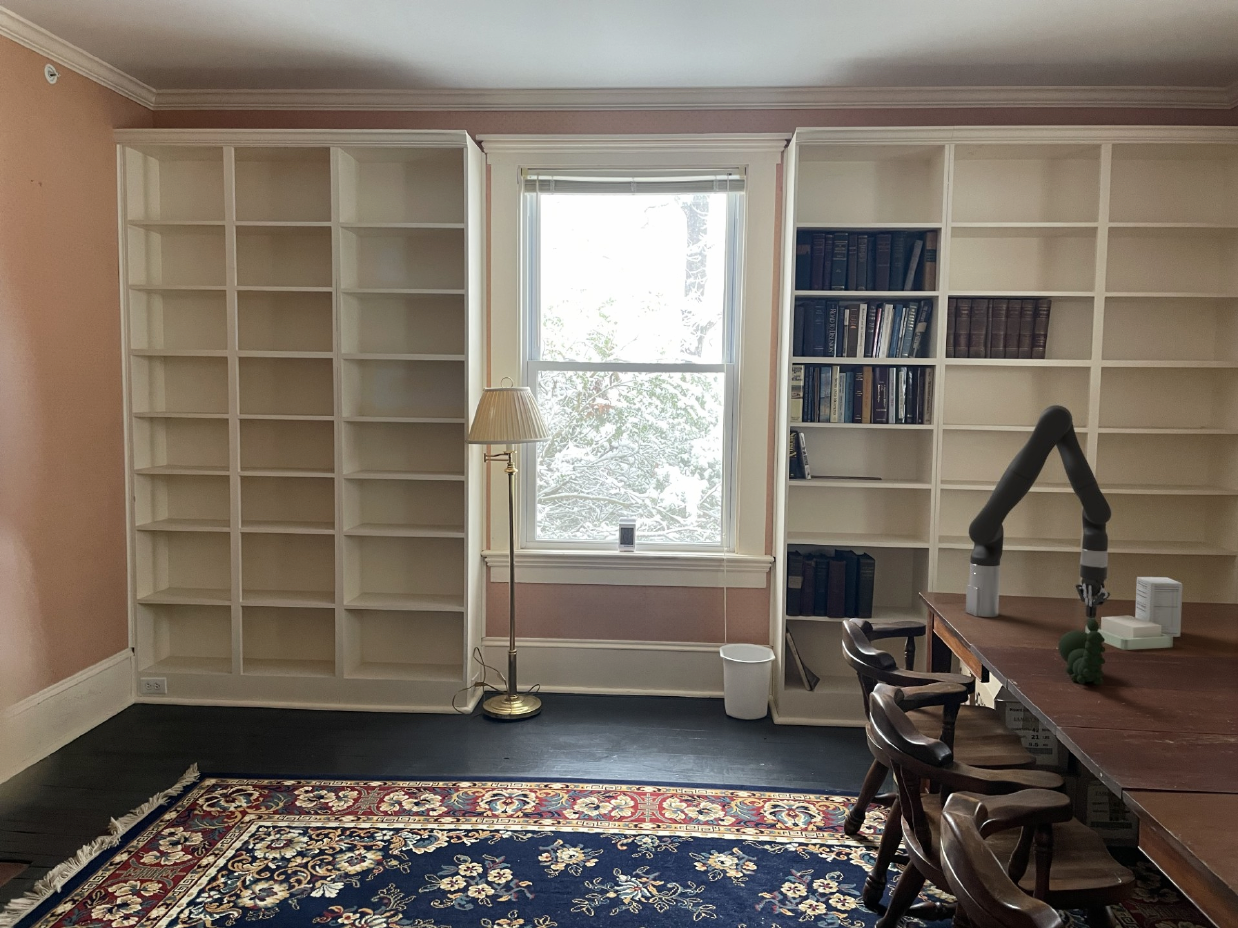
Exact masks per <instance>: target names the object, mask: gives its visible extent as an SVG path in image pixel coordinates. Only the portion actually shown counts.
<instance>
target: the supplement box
mask: <svg viewBox="0 0 1238 928" xmlns="http://www.w3.org/2000/svg"><path fill="white" fill-rule="evenodd" d="M1135 591H1136V592H1135V593H1136V594H1135V613H1134V614H1135V616H1134V617H1135V618H1139V619H1142V620H1145V621H1148V622H1152V623H1155V624H1158V625H1161V633H1162V634H1165V635H1168V636H1171V637H1173V638H1178V637H1181V630H1182V629H1181V627H1182V626H1181V625H1182V607H1183V606H1182V601H1183V583H1182V582H1180V581H1177V580H1174V579H1172V578H1170V577H1166V576H1163V577H1162V576H1161V577H1160V576H1156V577H1155V576H1137V577H1136V590H1135Z"/></svg>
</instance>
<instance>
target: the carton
mask: <svg viewBox="0 0 1238 928" xmlns="http://www.w3.org/2000/svg"><path fill="white" fill-rule="evenodd" d="M1100 622H1101V623H1100V630H1103V631H1106V632H1108V633H1111V634H1114V635H1117V636H1119V637H1122V638H1142V637H1160V636H1161V625H1158V624H1155V623H1152V622H1148V621H1145V620H1142V619H1139V618H1135V616H1132V615H1128V614H1127V615H1116V616H1101V620H1100Z"/></svg>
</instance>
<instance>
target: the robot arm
mask: <svg viewBox="0 0 1238 928" xmlns="http://www.w3.org/2000/svg"><path fill="white" fill-rule="evenodd" d="M1055 446H1056V449H1057V450H1058V453H1059V455H1060V459H1061V461H1062V465H1063V467H1064V471H1065V474H1066V477H1067V478H1068V482H1069V483H1070V485H1071V488H1072V490H1073V493H1074V494H1075V495H1076V496H1077V498H1078V499H1079V500H1080V503H1081V505H1082V513H1081V522H1082V533H1083V534H1082V542H1081V553H1080V568H1079V577H1080V578H1081V581H1080V583H1079V584H1075V589H1076V591H1077V593H1078V597H1079V598H1080V600H1081V602H1083V603H1084V604H1085V614H1086V616H1085V617H1087V618H1093V619H1095V618H1096V617H1097V608H1098V607H1101V606H1103V605H1104V603H1105V602H1106V601H1107V600H1108V599H1109V597H1110V595H1111V594H1110V592H1107V591H1106V589H1105V588H1106V587H1105V581H1106V580H1107V579H1108V565H1109V564H1108V562H1109V557H1108V554H1109V553H1108V549H1109V548H1108V547H1109V546H1108V545H1109V535H1108V533H1107V522H1109V521H1110V519H1111V518H1112V509H1111V507H1110V504H1109V502H1108V501H1107V499H1106V498H1105V496H1104V493H1103V492H1102V491H1101V489H1100V487H1099V484H1098V482H1097V479H1096V477H1095V475H1094V473H1093V471H1092V468H1091V466H1090V464H1089V463H1088V461H1087V459H1086V455H1085V454H1084V453H1083V450H1082V448H1081V446H1080V443H1079V440H1078V437H1077V434H1076V431H1075V427H1074V422H1073V415H1072V413H1071V412H1070V410H1069V409H1068V408H1067V407H1064V406H1062V405H1058V404H1055V405H1051V406H1048V407H1046V408H1045V409H1044V410H1043V411H1042V412H1041V414H1040V416H1039V418H1038V421H1037V424H1036V426H1035V427H1034V429H1033V431H1032V433H1031V435H1030V437H1029V438H1028V440H1027V442H1026V443H1025V445H1024V446H1023V447H1022V448H1021V449H1020V450H1019V451H1018V453H1017V454H1016V455H1015V457H1014V458H1013V459H1012V460H1011V462H1010V463H1009V464H1008V466H1007V468H1006V470H1004V472H1003V474H1002V476H1001V477H1000V479H999V481H998V483H997V484H996V486H995V488H994V489H993V492H992V493H991V495H990V497H989V499H988V501H987V502H986V504H984V506H983V508H982V509H981V510H980V511H979V512H978V514H977V515H976V517H975V518H973V520H972V521H971V522H970V524H969V528H968V536H969V539H970V540H971V541H972V542H973V543H974V545H973V549H972V552H971V554H970V558H969V559H970V561H969V562H970V564H969V582H968V584H966V595H965V596H966V597H965V613H967V614H969V615H971V616H975V617H984V618H995V617H998V616H999V598H1000V597H999V596H1000V595H999V594H1000V575H1001V574H1000V571H1001V569H1000V568H1001V559H1002V556H1003V548H1004V547H1003V546H1004V534H1005V532H1004V531H1005V530H1004V526H1003V523H1004V521H1005V519H1006V517H1007V516H1008V515H1009V513H1010V512H1011V511H1012V510H1013V509H1014V508H1015V507H1016V506H1017V505H1018V504H1019V503H1020V502H1021V501H1022V500H1023V499H1024V497H1025V496H1026V495H1027V494H1028V492H1030V489H1031V488H1032V487H1033V485H1034V484H1035V482H1036V480H1037V479H1038V477H1039V475H1040V473H1041V472H1042V470H1043V468H1044V465H1045V463H1046V462H1047V461H1046V460H1047V459H1048V457H1049V456H1050V453H1051V452H1052V451H1053V449H1054V448H1055Z"/></svg>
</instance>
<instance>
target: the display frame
mask: <svg viewBox="0 0 1238 928" xmlns="http://www.w3.org/2000/svg"><path fill="white" fill-rule="evenodd" d="M1084 630H1085V631H1084V632H1086V633H1089V632H1090V631H1089V629H1088V627H1087V625H1085V629H1084ZM1097 632H1099V633H1100V634H1101V635H1102V637H1103V638H1104V639H1105V641H1104V642H1103V644H1104V643H1105V644H1107V645H1110V646H1112V647H1115V648H1118V649H1121V650H1124V651H1128V650H1130V651H1131V650H1148V649H1161V648H1162V649H1166V648H1173V647H1174V643H1173V642H1174V637H1171V636H1168V635H1165V634H1162V633H1161V636H1160V637H1142V638H1122V637H1119V636H1117V635H1114V634H1111V633H1108V632H1106V631H1103V630H1101V628H1099V630H1098V631H1097Z"/></svg>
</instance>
